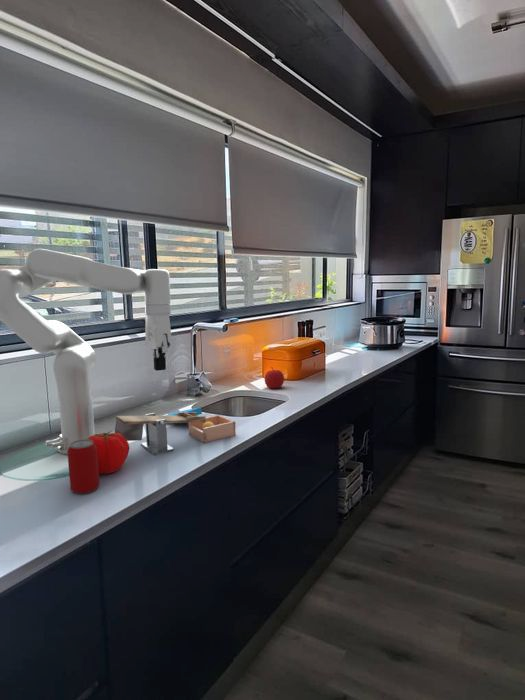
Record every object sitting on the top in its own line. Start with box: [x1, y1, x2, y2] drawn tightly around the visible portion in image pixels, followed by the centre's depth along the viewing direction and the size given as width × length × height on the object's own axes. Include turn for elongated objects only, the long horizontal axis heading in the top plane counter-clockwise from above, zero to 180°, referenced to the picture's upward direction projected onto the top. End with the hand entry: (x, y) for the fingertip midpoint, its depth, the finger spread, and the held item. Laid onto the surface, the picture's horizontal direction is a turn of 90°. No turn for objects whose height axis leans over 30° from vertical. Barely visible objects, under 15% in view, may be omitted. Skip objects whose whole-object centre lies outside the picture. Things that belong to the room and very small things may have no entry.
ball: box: [203, 422, 214, 428], centre depth 155 cm, size 4×4×4 cm
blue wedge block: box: [167, 406, 203, 416], centre depth 169 cm, size 7×7×18 cm
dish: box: [188, 414, 237, 443], centre depth 156 cm, size 12×11×4 cm
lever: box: [114, 411, 206, 442], centre depth 145 cm, size 26×7×7 cm, turn 126°
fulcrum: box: [140, 412, 175, 456], centre depth 145 cm, size 6×11×10 cm, turn 36°
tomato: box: [88, 430, 130, 475], centre depth 128 cm, size 13×12×11 cm
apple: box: [264, 367, 285, 389], centre depth 221 cm, size 9×9×10 cm
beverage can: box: [67, 439, 100, 495], centre depth 116 cm, size 7×7×12 cm
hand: (160, 369), depth 146 cm, fingers closed
